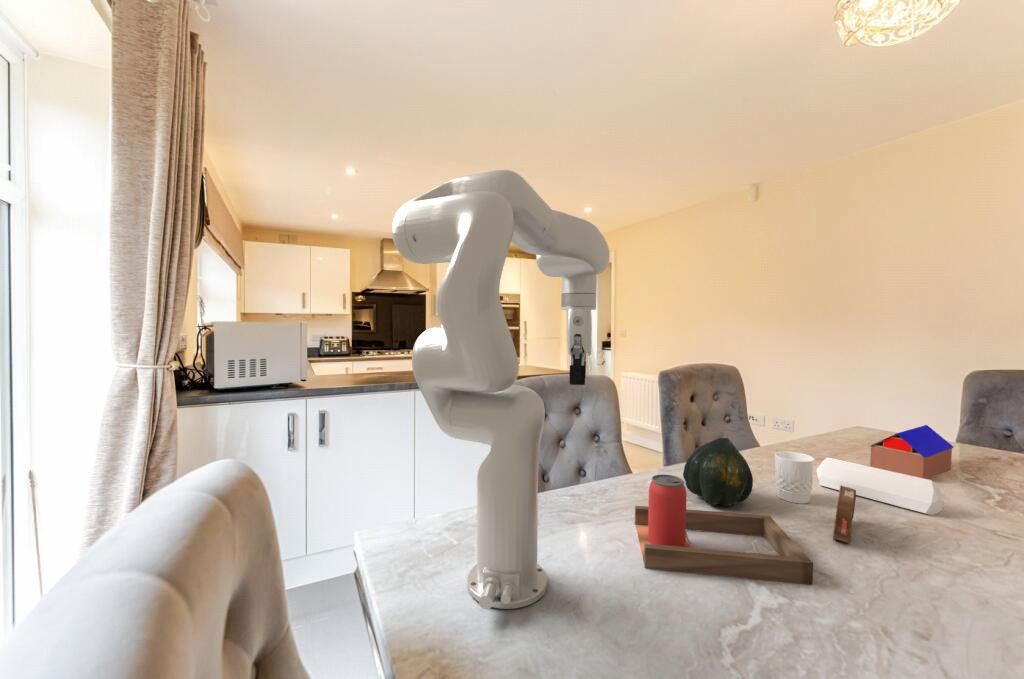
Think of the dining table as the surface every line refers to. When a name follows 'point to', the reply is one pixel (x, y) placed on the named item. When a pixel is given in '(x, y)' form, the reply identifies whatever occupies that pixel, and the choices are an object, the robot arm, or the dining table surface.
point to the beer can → (667, 511)
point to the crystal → (882, 485)
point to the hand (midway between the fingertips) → (577, 381)
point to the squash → (718, 473)
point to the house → (913, 453)
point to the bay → (728, 563)
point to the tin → (844, 514)
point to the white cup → (794, 476)
